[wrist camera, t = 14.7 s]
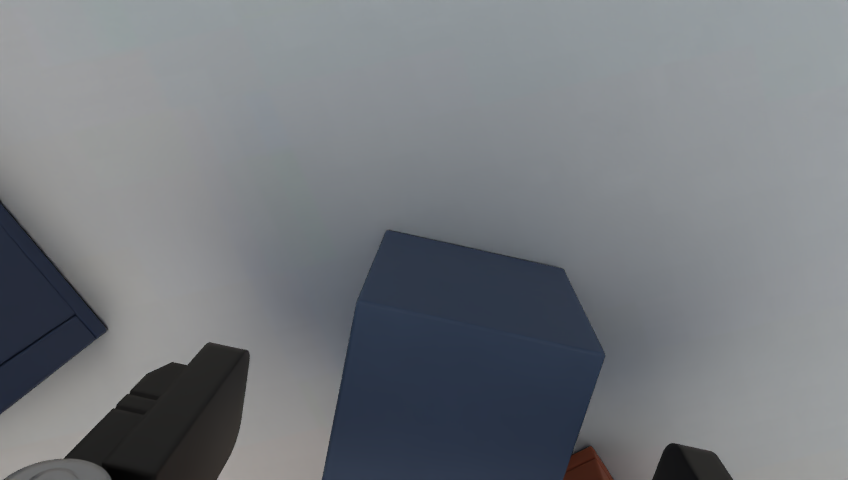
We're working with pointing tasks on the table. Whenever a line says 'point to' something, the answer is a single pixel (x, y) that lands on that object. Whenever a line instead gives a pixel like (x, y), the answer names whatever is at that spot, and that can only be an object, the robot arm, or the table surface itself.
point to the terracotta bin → (586, 466)
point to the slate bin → (35, 315)
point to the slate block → (462, 368)
